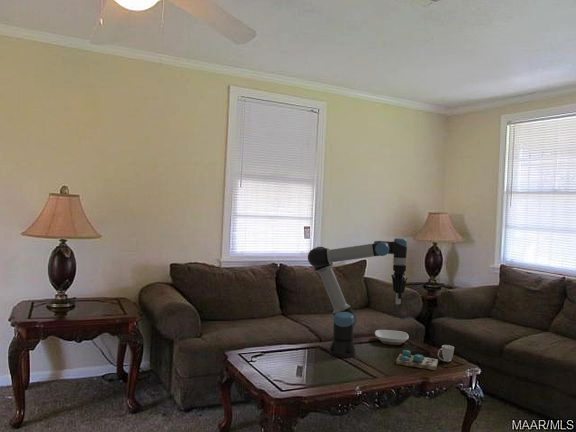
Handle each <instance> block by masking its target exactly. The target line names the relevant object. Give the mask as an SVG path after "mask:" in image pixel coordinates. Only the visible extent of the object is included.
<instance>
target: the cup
mask: <svg viewBox="0 0 576 432" xmlns="http://www.w3.org/2000/svg"><path fill="white" fill-rule="evenodd" d="M441 351H442V352H441ZM454 351H455V347H454V346H453V345H450V344H443V345H441V348H439V350H438V352H437V357H438V359H439V360H441V361H443V362H447V363H450V361H451V362H452V359H453V357H454V353H455V352H454ZM440 352H441V353H442V357H443V359H442V358H441V357H440Z"/></svg>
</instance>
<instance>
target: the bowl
mask: <svg viewBox="0 0 576 432" xmlns="http://www.w3.org/2000/svg"><path fill="white" fill-rule="evenodd" d="M374 335H375V337H376V338H377V339H378V340H379V341H380V342H381V343H382V344H383V345H391V346H401V345H402V344H403V343H405V342H406V341H407V340H409V338H410V337H409V334H408V333H407V332H405V331H400V330H391V329H377V330H375V331H374Z"/></svg>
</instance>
